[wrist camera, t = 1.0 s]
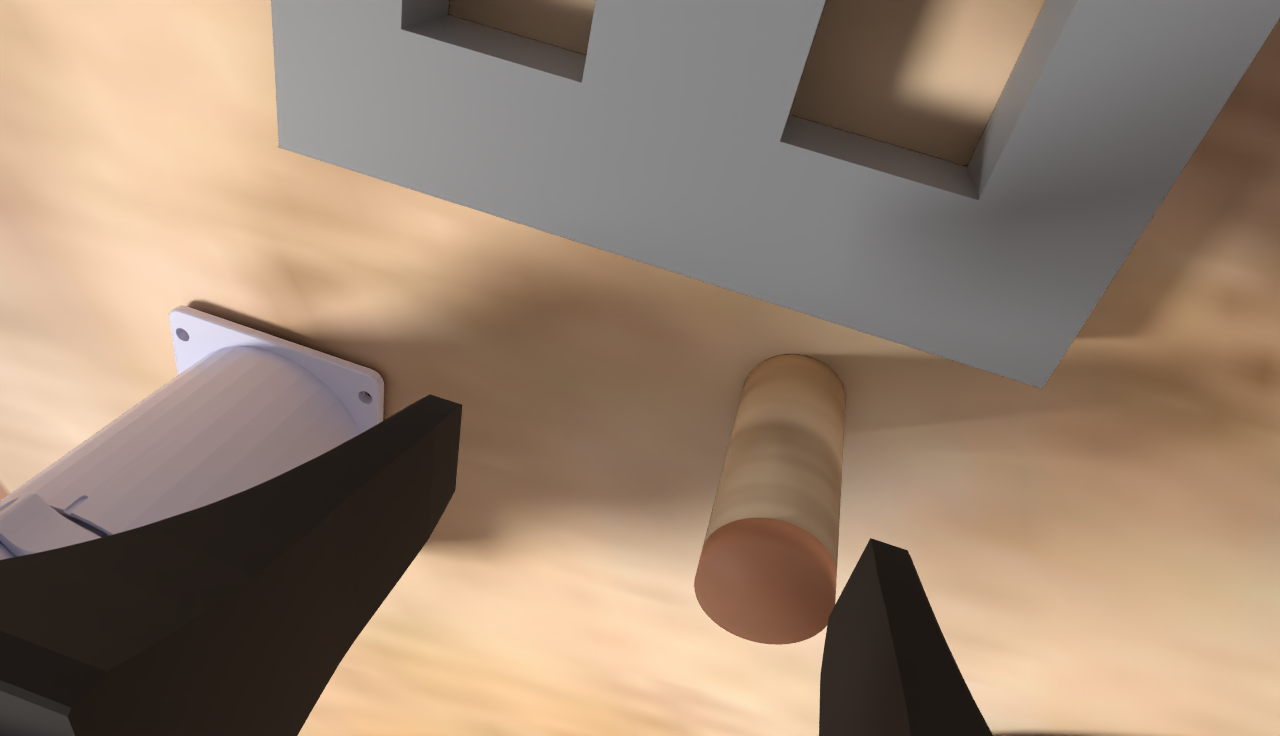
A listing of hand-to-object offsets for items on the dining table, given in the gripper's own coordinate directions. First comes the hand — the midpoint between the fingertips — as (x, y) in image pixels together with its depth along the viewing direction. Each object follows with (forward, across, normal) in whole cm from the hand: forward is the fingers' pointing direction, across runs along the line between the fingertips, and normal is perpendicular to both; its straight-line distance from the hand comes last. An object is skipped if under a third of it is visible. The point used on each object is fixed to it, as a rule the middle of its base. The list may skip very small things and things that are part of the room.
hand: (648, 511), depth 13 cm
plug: (+10, -3, +3) cm, 11 cm away
